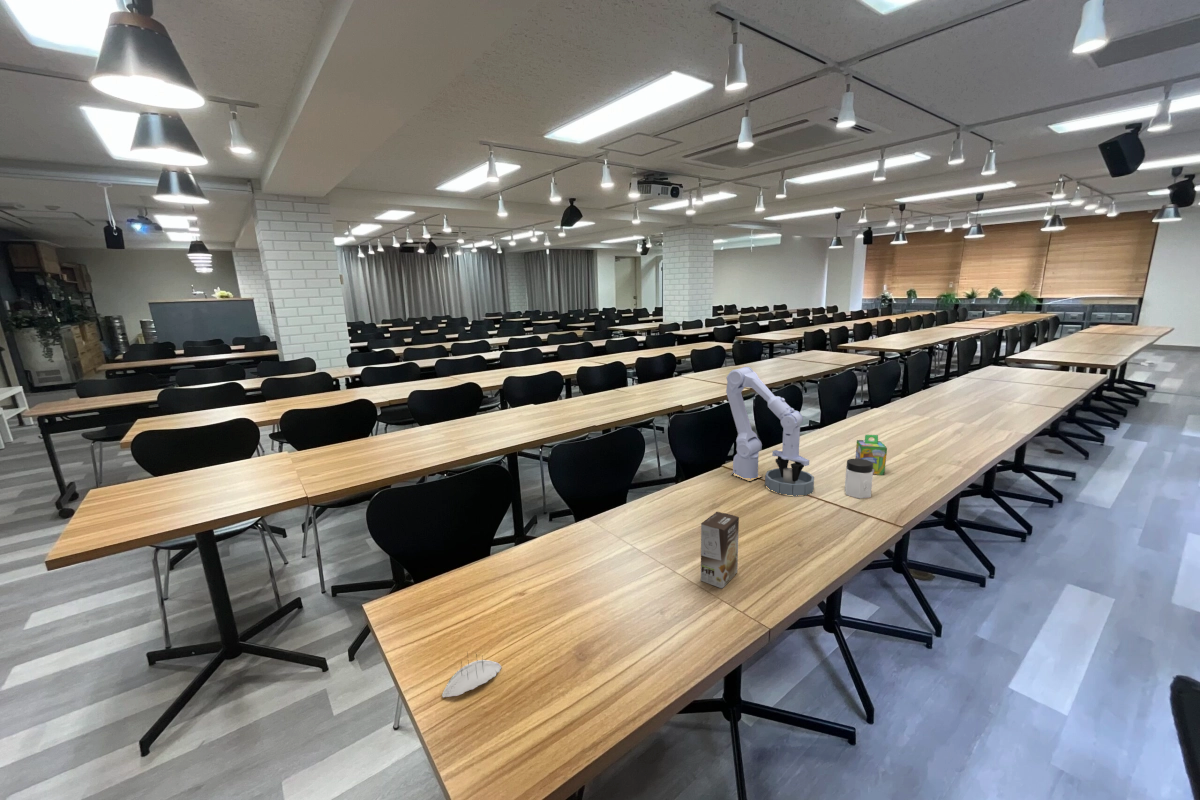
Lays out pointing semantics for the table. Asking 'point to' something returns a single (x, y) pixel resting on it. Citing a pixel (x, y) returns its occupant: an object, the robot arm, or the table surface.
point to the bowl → (799, 488)
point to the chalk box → (872, 453)
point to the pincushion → (471, 677)
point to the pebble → (788, 476)
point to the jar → (858, 478)
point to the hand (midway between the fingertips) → (789, 478)
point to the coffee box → (719, 549)
